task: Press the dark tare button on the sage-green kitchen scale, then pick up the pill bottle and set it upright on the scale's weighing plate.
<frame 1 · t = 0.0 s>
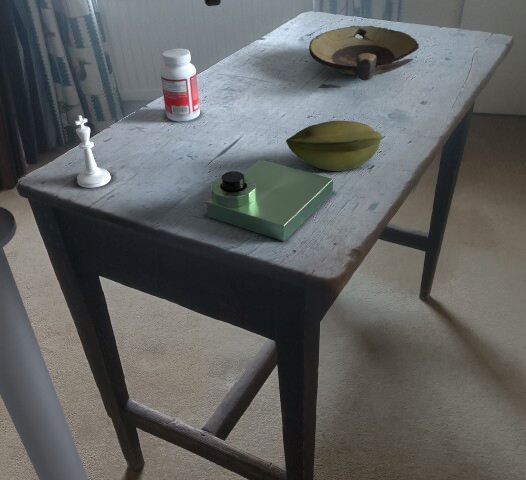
broken bowl: (356, 72, 123), on the table
pill bottle: (183, 116, 107), on the table
fruit: (334, 163, 92), on the table
chess piece: (94, 181, 89), on the table
tare button: (233, 182, 78), point 5 cm above the table, slide at 0.1 cm
scale: (271, 204, 82), on the table
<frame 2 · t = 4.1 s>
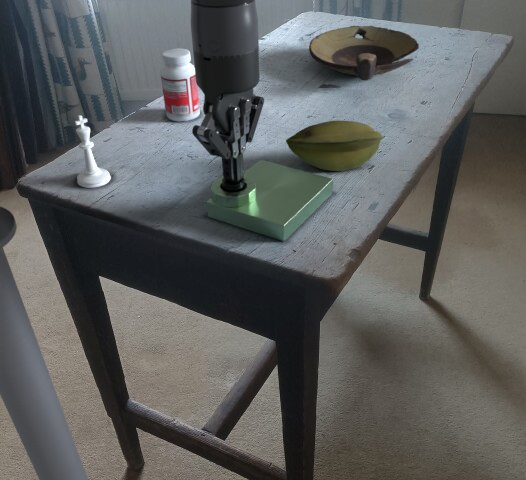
hand: (233, 179, 78), 5 cm above the table, tool pointing down, fingers closed
tare button: (233, 185, 78), point 4 cm above the table, slide at -0.4 cm, touching gripper
everything else where it was.
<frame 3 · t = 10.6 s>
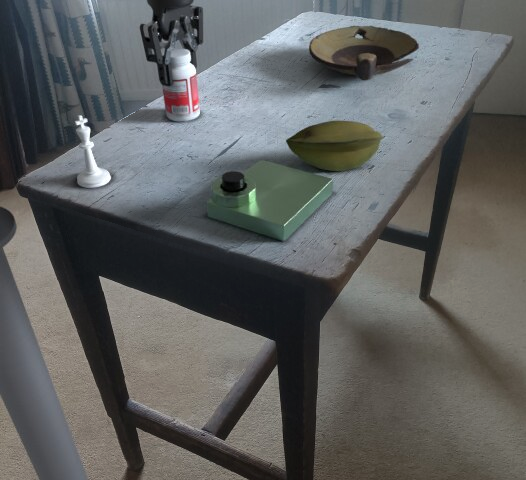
hand: (179, 78, 102), 7 cm above the table, tool pointing down, fingers closed on pill bottle, 6 cm apart
pill bottle: (183, 116, 107), on the table, touching gripper
tare button: (233, 182, 78), point 5 cm above the table, slide at 0.1 cm
everything else where it was.
when the fingers open (9 cm above the table, at t = 18.6 s): pill bottle stays where it is, resting on scale.
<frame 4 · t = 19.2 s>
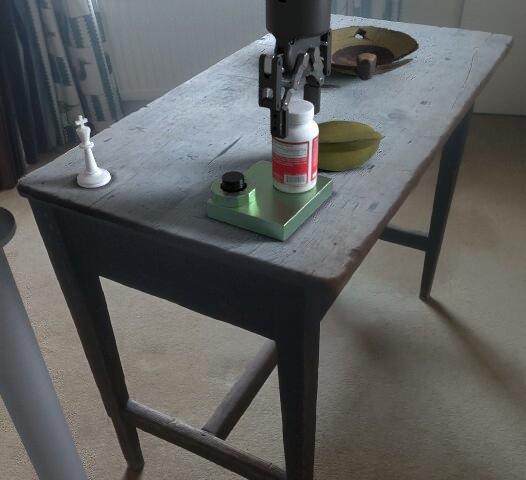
hand: (295, 124, 76), 11 cm above the table, tool pointing down, fingers open, 8 cm apart
pill bottle: (294, 185, 82), point 2 cm above the table, touching scale
everything else where it was.
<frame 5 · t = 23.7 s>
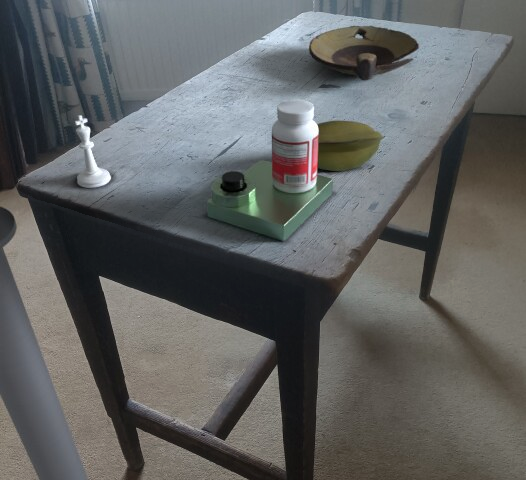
nothing on the table moved.
at the end: tare button pushed in 0.9 cm at the most during the clip, back to where it started at the end; pill bottle inside the target area on the scale (3.6 cm from its centre), point 2.2 cm above the scale's base; pill bottle tilted 0° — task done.
